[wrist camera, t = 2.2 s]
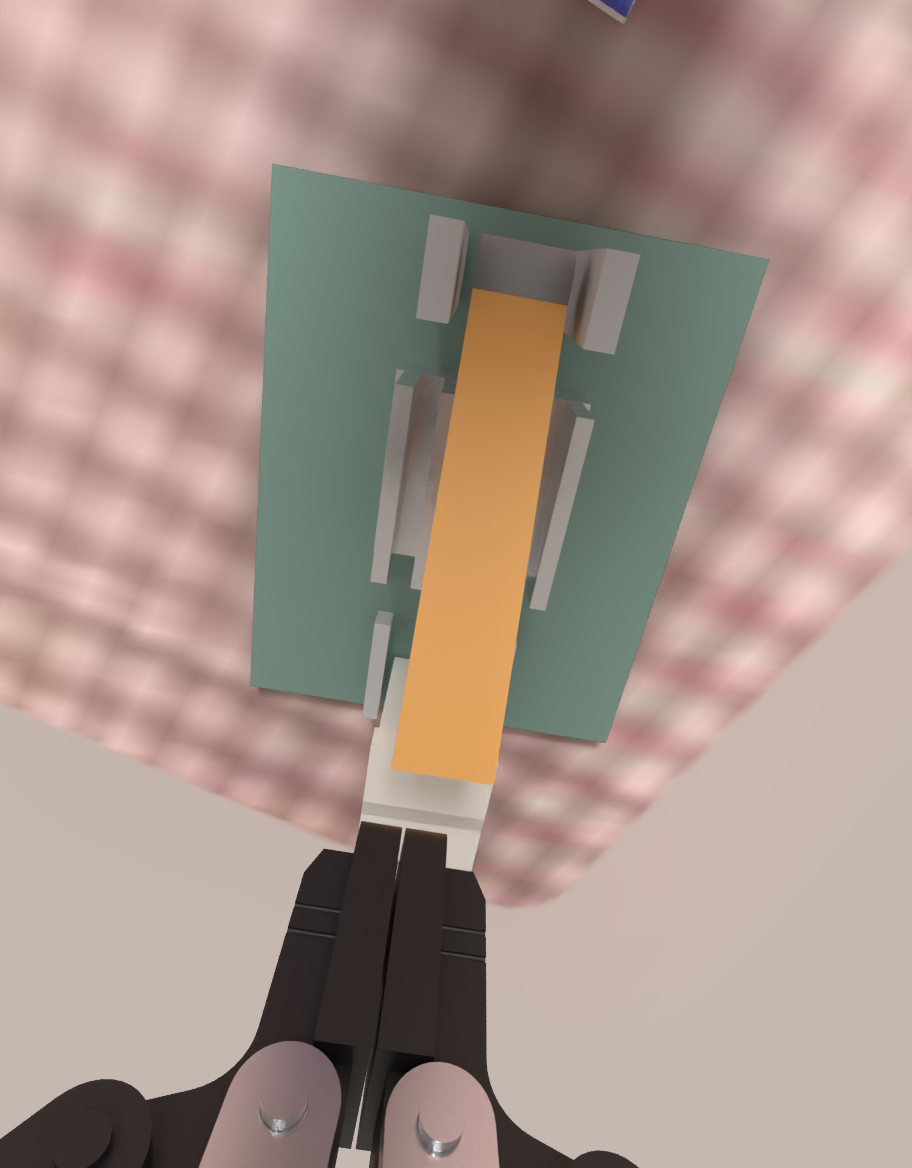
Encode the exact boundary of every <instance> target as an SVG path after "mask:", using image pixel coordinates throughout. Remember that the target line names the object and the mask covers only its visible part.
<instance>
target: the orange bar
mask: <svg viewBox="0 0 912 1168" xmlns="http://www.w3.org/2000/svg"><path fill="white" fill-rule="evenodd" d="M575 266H576V251H573V250H567V249H562V248H557V247H552V246H546V245H541V244H536V243H531V242H525V241H520V240H515V239H510V238H505V237H499V236H494V235H489V234H484V233H482V237H481V243H480V249H479V254H478V260H477V266H476V272H475V278H474V284H473V290H472V296H471V302H470V308H469V314H468V320H467V326H466V332H465V337H464V343H463V349H462V355H461V361H460V367H459V373H458V379H457V384H456V390H455V396H454V402H453V408H452V414H451V420H450V426H449V431H448V437H447V443H446V449H445V455H444V461H443V467H442V473H441V478H440V484H439V490H438V496H437V502H436V508H435V514H434V520H433V526H432V531H431V537H430V543H429V549H428V555H427V561H426V567H425V573H424V578H423V584H422V590H421V596H420V602H419V608H418V614H417V620H416V625H415V631H414V637H413V643H412V649H411V655H410V661H409V667H408V672H407V678H406V684H405V690H404V696H403V702H402V708H401V714H400V719H399V725H398V731H397V737H396V743H395V749H394V755H393V761H392V767H391V769H392V770H399V771H405V772H411V773H418V774H424V775H431V776H437V777H443V778H450V779H456V780H462V781H469V782H475V783H481V784H488V785H494V782H495V775H496V769H497V762H498V756H499V749H500V743H501V736H502V730H503V723H504V717H505V710H506V704H507V697H508V691H509V684H510V677H511V671H512V664H513V658H514V651H515V645H516V638H517V632H518V625H519V619H520V612H521V606H522V599H523V593H524V586H525V580H526V573H527V567H528V560H529V554H530V547H531V541H532V534H533V528H534V521H535V515H536V508H537V502H538V495H539V488H540V482H541V475H542V469H543V462H544V456H545V449H546V443H547V436H548V430H549V423H550V417H551V410H552V404H553V397H554V391H555V384H556V378H557V371H558V365H559V358H560V352H561V345H562V339H563V332H564V326H565V319H566V313H567V306H568V302H569V298H570V294H571V289H572V284H573V279H574V273H575Z"/></svg>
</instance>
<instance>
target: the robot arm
mask: <svg viewBox="0 0 912 1168" xmlns="http://www.w3.org/2000/svg"><path fill="white" fill-rule="evenodd" d="M401 835H402V827H397V826H391V825H384V824H378V823H372V822H366V821H361V824H360V828H359V832H358V837H357V842H356V846H355V851H354V853H348V852H342V851H335V850H328V849H323V851H322V852H321V853H320V854H319V855H318V857H317V858H316V859H315V860H314V861H313V862H312V864H311V865H310V866H309V867H308V868H307V869H306V871H305V872H304V874H303V878H302V881H301V885H300V888H299V891H298V895H297V898H296V901H295V906H294V908H293V912H292V916H291V918H290V922H289V925H288V930H287V933H286V936H285V939H284V942H283V946H282V949H281V953H280V956H279V959H278V963H277V966H276V970H275V973H274V977H273V980H272V983H271V987H270V990H269V993H268V997H267V1000H266V1004H265V1007H264V1010H263V1014H262V1017H261V1021H260V1024H259V1028H258V1030H257V1033H256V1036H255V1038H254V1040H253V1042H252V1044H251V1046H250V1047H249V1049H248V1050H247V1052H246V1053H245V1054H244V1056H243V1057H242V1058H241V1059H240V1061H239V1062H238V1063H237V1064H236V1065H235V1066H234V1067H233V1068H231V1069H230V1070H229V1071H228V1072H227V1073H226V1074H224V1075H223V1076H221V1077H219V1078H218V1079H216V1080H215V1081H213V1082H211V1083H209V1084H207V1085H204V1086H202V1087H199V1088H196V1089H192V1090H189V1091H184V1092H179V1093H175V1094H171V1095H166V1096H162V1097H158V1098H154V1099H149V1100H145V1098H144V1097H143V1096H142V1095H141V1094H140V1092H139V1091H138V1090H137V1089H135V1088H134V1087H133V1086H131V1085H129V1084H127V1083H125V1082H122V1081H118V1080H113V1079H101V1080H95V1081H90V1082H87V1083H84V1084H80V1085H78V1086H76V1087H74V1088H72V1089H70V1090H68V1091H66V1092H64V1093H63V1094H61V1095H60V1096H58V1097H57V1098H55V1099H54V1100H53V1101H51V1102H50V1103H48V1104H47V1105H46V1106H45V1107H43V1108H42V1109H40V1110H39V1111H38V1112H36V1113H35V1114H34V1115H32V1116H31V1117H30V1118H28V1119H27V1120H25V1121H24V1122H23V1123H21V1124H20V1125H19V1126H18V1127H16V1128H15V1129H13V1130H12V1131H11V1132H9V1133H8V1134H7V1135H5V1136H4V1137H3V1138H1V1139H0V1168H335V1165H336V1159H337V1153H338V1148H339V1147H341V1148H348V1149H351V1145H352V1141H353V1136H354V1131H355V1126H356V1121H357V1116H358V1111H359V1106H360V1101H361V1096H362V1092H363V1087H364V1082H365V1088H364V1095H363V1103H362V1109H361V1116H360V1123H359V1130H358V1137H357V1144H356V1149H359V1150H366V1151H371V1156H370V1164H369V1168H638V1167H637V1166H636V1165H635V1164H633V1163H632V1162H630V1161H629V1160H627V1159H626V1158H624V1157H622V1156H620V1155H618V1154H615V1153H611V1152H607V1151H591V1152H587V1153H585V1154H582V1155H580V1156H579V1157H577V1158H576V1159H575V1160H572V1159H571V1158H569V1157H567V1156H565V1155H563V1154H562V1153H560V1152H558V1151H556V1150H554V1149H553V1148H551V1147H549V1146H547V1145H546V1144H544V1143H542V1142H540V1141H538V1140H537V1139H535V1138H533V1137H531V1136H530V1135H528V1134H527V1133H525V1132H524V1131H522V1130H521V1129H520V1128H519V1127H518V1126H517V1125H516V1124H515V1123H513V1121H512V1120H511V1119H510V1118H509V1117H508V1116H507V1115H506V1114H505V1112H504V1110H503V1109H502V1107H501V1106H500V1105H499V1103H498V1101H497V1099H496V1097H495V1095H494V1093H493V1090H492V1087H491V1084H490V1081H489V1076H488V1072H487V1060H486V963H485V958H486V937H485V931H486V914H485V913H486V908H485V907H486V901H485V898H484V896H483V893H482V891H481V889H480V886H479V884H478V882H477V879H476V877H475V875H474V873H473V872H471V871H465V870H458V869H452V868H446V855H447V834H442V833H436V832H430V831H424V830H417V829H411V828H406V829H405V834H404V839H403V844H402V849H401V854H400V859H399V864H398V869H397V863H398V856H399V849H400V842H401ZM396 870H397V875H396ZM395 877H396V880H395ZM366 1072H367V1073H366ZM365 1077H366V1080H365Z"/></svg>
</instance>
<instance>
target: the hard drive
mask: <svg viewBox="0 0 912 1168" xmlns="http://www.w3.org/2000/svg"><path fill="white" fill-rule="evenodd" d="M588 1H589V2H591V3H592V4H594V5H595V6H597V7H598V8H600V9H601V10H603V11H604V12H605V13H607V14H608V15H610V16H611V17H613V18H614V19H616V20H617V21H619V22H620V23H622V24H623V23H625V21H626V19H627V17H628V15H629V14H630V12H631V10H632V8H633V6H634V4H635V2H636V0H588Z"/></svg>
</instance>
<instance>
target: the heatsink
mask: <svg viewBox="0 0 912 1168" xmlns="http://www.w3.org/2000/svg"><path fill="white" fill-rule="evenodd" d="M458 373H459V371H455V370H450V369H444V368H439V367H433V366H428V365H422V364H417V363H411V362H406V361H402V363H401V364H400V365H399V367H398V368H397V369H396V377H395V385H394V393H393V400H392V408H391V416H390V424H389V432H388V440H387V448H386V456H385V464H384V472H383V480H382V488H381V496H380V504H379V511H378V519H377V527H376V535H375V543H374V556H373V564H372V572H371V580H370V582H376V583H382V584H387V580H388V577H389V574H390V570H391V567H392V563H393V560H394V557H395V553H396V554H402V555H407V556H413V557H415V562H414V568H413V575H412V581H411V587H410V588H412V589H418V590H422V584H423V578H424V573H425V567H426V561H427V555H428V549H429V543H430V537H431V531H432V526H433V520H434V514H435V508H436V502H437V496H438V490H439V484H440V478H441V473H442V467H443V461H444V455H445V449H446V443H447V437H448V431H449V426H450V420H451V414H452V408H453V402H454V396H455V390H456V384H457V379H458ZM590 407H591V404H590V402H589V401H588V400H587V398H586V397H585V396H584V394H581V393H576V392H570V391H565V390H559V389H555V391H554V397H553V404H552V410H551V417H550V423H549V430H548V436H547V443H546V449H545V456H544V462H543V469H542V475H541V482H540V488H539V495H538V502H537V508H536V515H535V521H534V528H533V534H532V541H531V547H530V554H529V560H528V567H527V573H526V586H527V594H528V601H529V608H531V609H537V610H543V611H545V610H546V606H547V602H548V598H549V594H550V590H551V587H552V583H553V579H554V575H555V571H556V567H557V564H558V560H559V556H560V552H561V548H562V544H563V540H564V537H565V533H566V529H567V525H568V521H569V517H570V514H571V510H572V506H573V502H574V498H575V494H576V490H577V487H578V483H579V479H580V475H581V471H582V467H583V464H584V460H585V456H586V452H587V448H588V444H589V440H590V437H591V433H592V429H593V425H594V421H595V420H594V418H593V417H592V415H591V414H590V412H589V411H590Z"/></svg>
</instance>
